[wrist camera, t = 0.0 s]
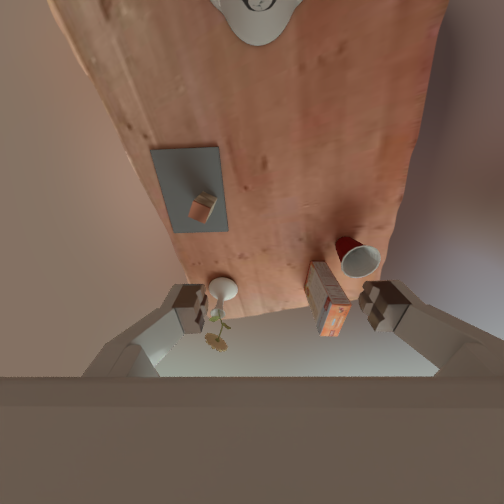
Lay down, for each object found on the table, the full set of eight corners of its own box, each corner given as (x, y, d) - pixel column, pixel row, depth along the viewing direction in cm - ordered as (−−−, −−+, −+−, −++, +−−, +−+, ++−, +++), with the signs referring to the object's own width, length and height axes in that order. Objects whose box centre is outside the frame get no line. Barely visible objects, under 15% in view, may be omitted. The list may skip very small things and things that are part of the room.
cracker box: (318, 289, 73) (338, 337, 56) (303, 289, 73) (318, 336, 55) (327, 261, 66) (353, 305, 48) (310, 260, 66) (330, 304, 48)
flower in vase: (203, 282, 72) (182, 341, 51) (227, 270, 69) (214, 328, 48) (223, 302, 78) (210, 363, 57) (245, 292, 75) (241, 352, 53)
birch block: (198, 204, 55) (188, 216, 47) (202, 191, 53) (192, 201, 45) (212, 211, 56) (204, 224, 48) (217, 198, 54) (210, 208, 46)
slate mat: (151, 149, 48) (149, 150, 48) (218, 146, 48) (218, 146, 47) (174, 231, 61) (174, 233, 60) (228, 230, 60) (228, 231, 60)
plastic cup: (363, 227, 59) (386, 245, 49) (357, 255, 65) (376, 276, 54) (329, 230, 60) (344, 248, 49) (326, 257, 65) (339, 279, 55)
